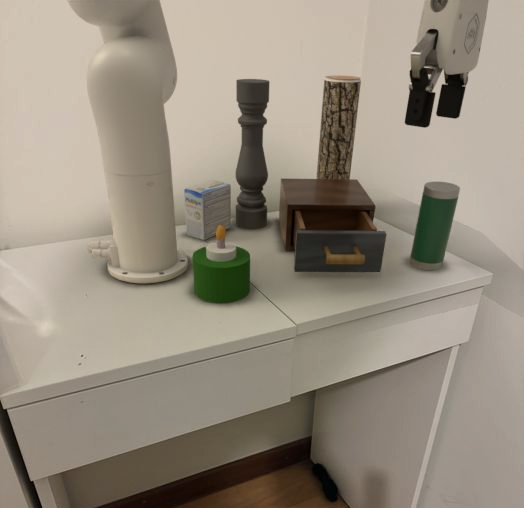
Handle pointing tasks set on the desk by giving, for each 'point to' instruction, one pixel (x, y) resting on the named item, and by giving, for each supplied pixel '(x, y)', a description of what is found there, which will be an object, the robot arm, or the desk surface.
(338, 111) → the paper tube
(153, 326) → the desk surface
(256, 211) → the candle holder
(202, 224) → the medicine box
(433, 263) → the can
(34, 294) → the desk surface
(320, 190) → the cabinet
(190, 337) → the desk surface
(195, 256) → the candle
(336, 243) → the drawer
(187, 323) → the desk surface
